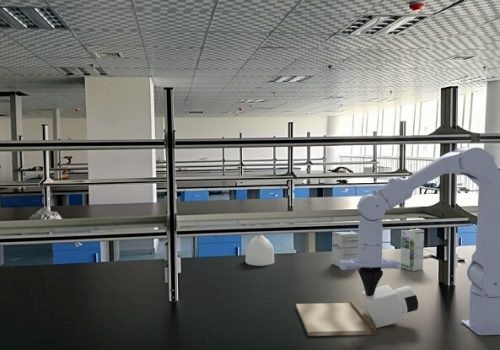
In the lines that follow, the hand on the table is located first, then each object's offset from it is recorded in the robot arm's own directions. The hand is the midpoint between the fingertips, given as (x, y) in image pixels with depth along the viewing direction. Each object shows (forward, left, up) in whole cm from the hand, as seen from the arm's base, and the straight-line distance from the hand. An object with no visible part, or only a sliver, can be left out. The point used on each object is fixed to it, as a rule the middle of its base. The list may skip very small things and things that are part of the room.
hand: (369, 297), depth 108 cm
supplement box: (-8, -52, -7) cm, 53 cm away
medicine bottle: (+1, 0, -3) cm, 3 cm away
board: (+9, -2, -6) cm, 11 cm away
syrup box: (-31, -47, -7) cm, 57 cm away
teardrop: (+23, -59, -7) cm, 64 cm away
